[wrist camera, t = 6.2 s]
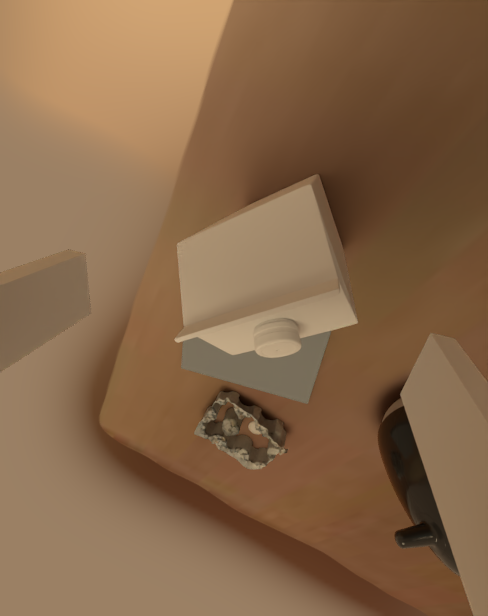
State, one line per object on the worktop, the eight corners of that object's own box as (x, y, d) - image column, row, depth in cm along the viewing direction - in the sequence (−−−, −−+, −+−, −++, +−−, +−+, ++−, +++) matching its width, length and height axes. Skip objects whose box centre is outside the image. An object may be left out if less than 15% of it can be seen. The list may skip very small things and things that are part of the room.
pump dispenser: (379, 369, 33) (415, 512, 19) (491, 383, 30) (621, 557, 17) (364, 438, 37) (385, 594, 24) (461, 455, 35) (545, 639, 21)
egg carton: (295, 427, 39) (292, 454, 36) (262, 454, 43) (256, 481, 39) (227, 380, 39) (217, 403, 35) (199, 412, 42) (188, 436, 38)
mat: (331, 325, 32) (332, 328, 31) (307, 400, 36) (307, 403, 36) (188, 290, 34) (185, 292, 34) (183, 365, 39) (181, 368, 38)
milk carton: (244, 206, 29) (132, 266, 12) (318, 172, 26) (304, 189, 9) (273, 274, 31) (210, 404, 14) (343, 249, 28) (368, 374, 12)
